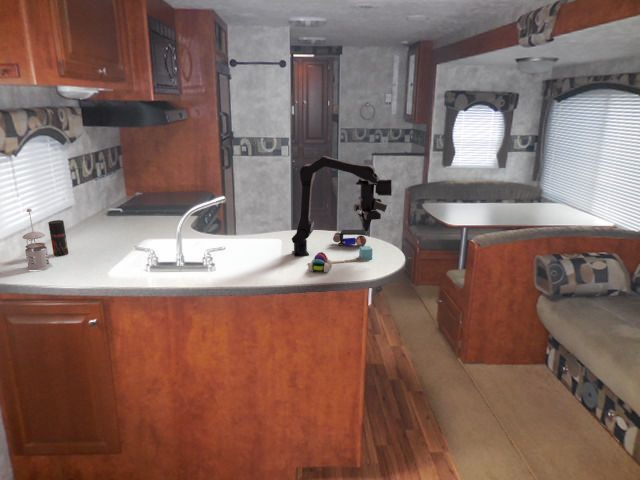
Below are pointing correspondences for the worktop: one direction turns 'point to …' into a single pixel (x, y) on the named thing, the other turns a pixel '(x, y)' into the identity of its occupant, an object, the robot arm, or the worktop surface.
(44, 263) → the french press
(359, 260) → the brown segmented strip
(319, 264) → the multicolored white-lobed toy
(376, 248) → the worktop surface
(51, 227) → the deodorant
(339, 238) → the figurine character
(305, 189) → the robot arm
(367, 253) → the teal cube
